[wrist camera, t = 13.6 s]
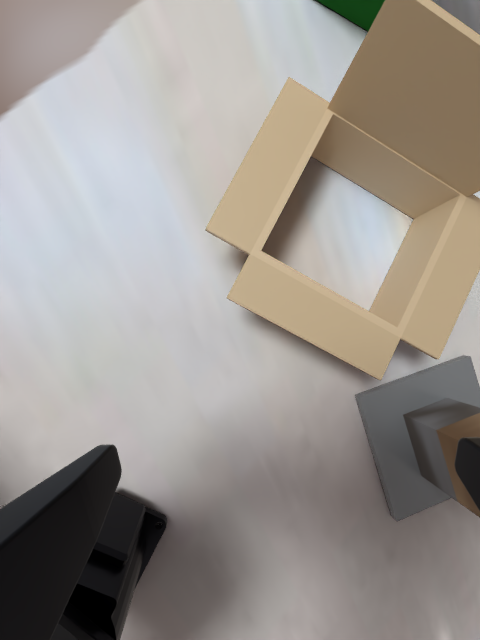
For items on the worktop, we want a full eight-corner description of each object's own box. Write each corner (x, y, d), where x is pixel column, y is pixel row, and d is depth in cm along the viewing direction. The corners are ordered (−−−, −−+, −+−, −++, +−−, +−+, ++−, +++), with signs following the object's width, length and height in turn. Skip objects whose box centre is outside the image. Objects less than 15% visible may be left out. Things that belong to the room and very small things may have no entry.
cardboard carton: (379, 386, 21) (535, 443, 11) (187, 284, 19) (162, 239, 9) (450, 235, 22) (653, 158, 12) (273, 125, 20) (334, -68, 10)
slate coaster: (391, 515, 21) (396, 521, 20) (354, 395, 20) (359, 397, 20) (497, 470, 22) (505, 474, 21) (463, 355, 22) (470, 356, 21)
